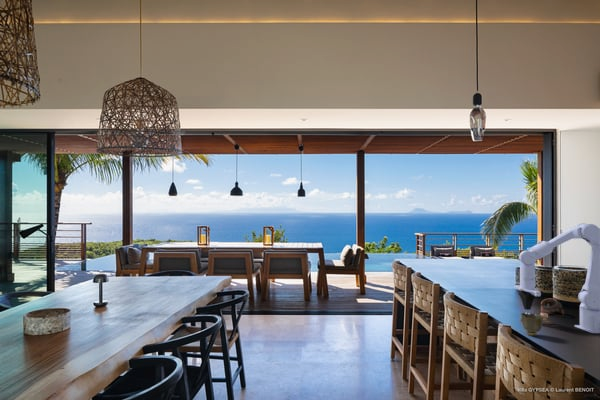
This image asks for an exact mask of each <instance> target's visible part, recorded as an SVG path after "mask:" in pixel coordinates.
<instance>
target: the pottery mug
mask: <svg viewBox="0 0 600 400" xmlns="http://www.w3.org/2000/svg"><path fill="white" fill-rule="evenodd" d="M540 313H560V314H562V316H563V315H565V311H564V309H563V306H562V303H560V302H559V301H558V300H557V299H556V298H550V297H549V298H544V299H542V301H541V302H540Z"/></svg>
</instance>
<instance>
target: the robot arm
mask: <svg viewBox="0 0 600 400" xmlns="http://www.w3.org/2000/svg"><path fill="white" fill-rule="evenodd" d="M575 239H582V240H584V241H585V242H586V243H587V244H588V245H590V247H591V250H590V255H589V260H588V266H587V271H586V277H585V283H584V284H583V285H582V288H581V291H580V292H579V293H578V295H577V298H578V301H579V302H581V303H580V305H579V324H574V328H577V329H580V330H582V331H586V332H588V333H589V334H600V227H598V225H596V224H593V223H584V222H583V223H579V224H577V225H575V226H572V227H570V228H569V229H567V230H565V231H563V232H562V233H560V234H558V235H556V236H555V237H553V238H552V239H550V240H549V241H546V240H542V241H537V242H536V244H535V245H533V246H531V247H527V248H526V250H523V251H521V252H520V254H519V255H518V259H519V261H520V263H519V284H515V286H514V290H517V291H520V292H518V295H519V297H520V300H521V301H522V305H523V309H524V310H527V311H529V310H531V309H532V306H533V303H534V300H535V299H536V297H542V296H541V295H542V292H541V291H540V290H538V289H536V268H535V267H536V266H535V263H537V260H540V259H542V258H545V257H546V256H548V255H549V254H551V253H553V252H554V251H553V250H554V248H556V247H558V246H560V245H562V244H564V243H566V242H568V241H570V240H575Z"/></svg>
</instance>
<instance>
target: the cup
mask: <svg viewBox="0 0 600 400" xmlns="http://www.w3.org/2000/svg"><path fill="white" fill-rule="evenodd" d="M526 313H527V314H526ZM528 313H529V312H523V313H521V314H520V316H521V317H520V318H522V322H521V323H522V327H523V329H524V330H525V331H526V335H528V336H530V337H537V336H538V333H539V332H540V331H541V330H542V326H543V324H542V321H543V316H542V315H540V314H538V313H536V314H535V313H532V312H530V314H528ZM538 315H539V316H538Z"/></svg>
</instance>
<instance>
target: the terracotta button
mask: <svg viewBox="0 0 600 400" xmlns="http://www.w3.org/2000/svg"><path fill="white" fill-rule="evenodd" d="M539 315H542V316H543V318H544V319H548V318H549V313H548V312H543V313H542V312H540V314H539Z"/></svg>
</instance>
